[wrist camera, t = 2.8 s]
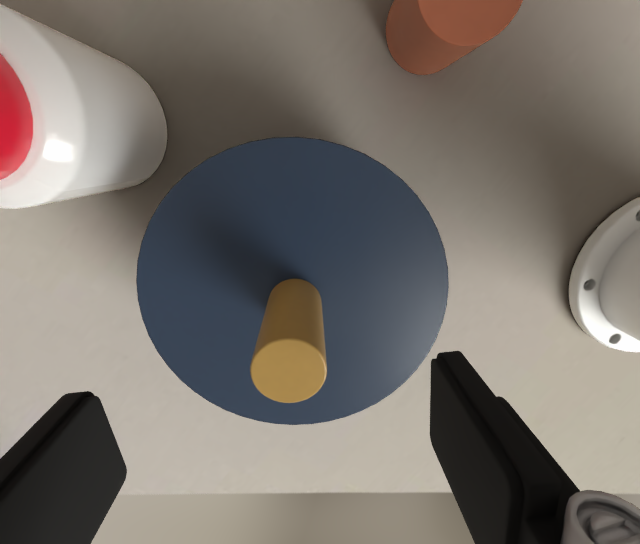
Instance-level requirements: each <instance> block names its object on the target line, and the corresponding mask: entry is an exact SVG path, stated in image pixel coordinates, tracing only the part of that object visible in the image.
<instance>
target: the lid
mask: <svg viewBox="0 0 640 544" xmlns="http://www.w3.org/2000/svg"><path fill="white" fill-rule="evenodd" d="M137 293H138V302H139V306H140V310H141V315H142V319H143V321H144V324H145V326H146V329H147V332H148V334H149V337H150V338H151V340H152V342H153V344H154V346H155V348H156V349H157V351H158V353H159V354H160V356H161V357H162V358H163V360H164V361H165V363H166V364H167V365H168V367H169V368H170V369H171V370H172V371H173V372H174V373H175V374H176V375H177V376H178V378H179V379H180V380H181V381H183V382H184V383H185V384H186V385H187V386H188V387H190V388H191V389H192V390H193V391H194V392H196V393H197V394H199V395H200V396H202V397H203V398H205V399H206V400H208V401H209V402H211V403H213V404H215V405H217V406H219V407H221V408H223V409H225V410H227V411H229V412H232V413H235V414H237V415H240V416H242V417H246V418H250V419H254V420H257V421H262V422H268V423H275V424H289V425H299V424H314V423H321V422H327V421H332V420H335V419H339V418H343V417H346V416H349V415H352V414H354V413H357V412H359V411H362V410H364V409H366V408H368V407H370V406H372V405H374V404H376V403H378V402H379V401H381V400H382V399H384V398H385V397H387V396H388V395H390V394H391V393H392V392H394V391H395V390H396V389H397V388H398V387H400V386H401V385H402V384H403V383H404V382H405V381H406V380H407V379H408V378H409V377H410V376H411V375H412V374H413V373H414V372H415V371H416V370H417V368H418V367H419V366H420V364H421V363H422V362H423V360H424V359H425V357H426V356H427V355H428V353H429V351H430V349H431V347H432V346H433V344H434V342H435V340H436V338H437V335H438V333H439V330H440V328H441V325H442V322H443V318H444V314H445V310H446V306H447V297H448V267H447V261H446V256H445V250H444V247H443V244H442V241H441V238H440V235H439V232H438V229H437V227H436V225H435V223H434V221H433V219H432V218H431V216H430V214H429V212H428V210H427V209H426V207H425V206H424V205H423V203H422V202H421V200H420V199H419V198H418V196H417V195H416V194H415V193H414V192H413V191H412V189H411V188H410V187H409V186H408V185H407V184H406V183H405V182H404V181H403V180H402V179H401V178H400V177H398V176H397V175H396V174H395V173H393V172H392V171H391V170H390V169H388V168H387V167H386V166H384V165H383V164H381V163H379V162H378V161H376V160H374V159H372V158H371V157H369V156H367V155H366V154H364V153H361V152H359V151H356V150H354V149H351V148H349V147H346V146H344V145H341V144H337V143H333V142H329V141H325V140H321V139H312V138H303V137H278V138H268V139H263V140H257V141H251V142H248V143H244V144H241V145H238V146H235V147H232V148H229V149H227V150H225V151H223V152H221V153H219V154H217V155H215V156H213V157H211V158H209V159H207V160H205V161H204V162H202V163H201V164H200V165H198V166H197V167H195V168H194V169H192V170H191V171H189V172H188V173H187V174H186V175H185V176H184V177H183V178H182V179H181V180H180V181H179V182H178V183H177V184H175V185H174V186H173V187H172V189H171V190H170V191H169V192H168V194H167V195H166V196H165V198H164V199H163V200H162V201H161V203H160V204H159V206H158V207H157V209H156V211H155V213H154V214H153V216H152V218H151V220H150V222H149V224H148V227H147V229H146V232H145V234H144V237H143V240H142V243H141V248H140V253H139V257H138V264H137Z"/></svg>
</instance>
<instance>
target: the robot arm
mask: <svg viewBox="0 0 640 544" xmlns="http://www.w3.org/2000/svg"><path fill="white" fill-rule="evenodd" d="M569 303H570V307H571V311H572V314H573V316H574V318H575V320H576V322H577V324H578V325H579V326H580V327H581V328H582V329H583V330H584V332H585V333H587V334H588V335H590V336H591V337H592V338H594V339H595V340H597V341H598V342H600V343H602V344H603V345H605V346H607V347H609V348H613V349H617V350H620V351H627V352H640V197H638V198H636V199H634V200H632V201H630V202H629V203H627V204H626V205H624V206H623V207H621V208H619V209H618V210H616V211H615V212H614V213H613V214H611V215H610V216H609V217H608V218H607V219H606V220H605V221H604V222H602V223H601V224H600V225H599V226H598V228H597V229H596V230H595V231H594V232H593V234H592V235H591V236H590V237H589V238H588V240H587V241H586V243H585V245H584V246H583V248H582V249H581V251H580V253H579V254H578V257H577V259H576V262H575V264H574V267H573V269H572V273H571V277H570V282H569ZM430 438H431V442H432V446H433V448H434V451H435V453H436V455H437V458H438V460H439V462H440V464H441V467H442V469H443V471H444V474H445V476H446V478H447V480H448V483H449V485H450V487H451V490H452V492H453V494H454V496H455V499H456V501H457V503H458V506H459V508H460V510H461V512H462V514H463V517H464V519H465V522H466V524H467V526H468V528H469V531H470V533H471V535H472V538H473V540H474V542H475V544H640V509H639V508H637V507H636V506H635V505H633V504H631V503H629V502H627V501H625V500H623V499H621V498H619V497H617V496H615V495H612V494H608V493H605V492H602V491H593V490H585V491H581V492H580V490H579V489H578V488H577V487H576V485H575V484H574V483H573V482H572V481H571V479H570V478H569V477H568V476H567V474H566V473H565V472H564V471H563V469H562V468H561V467H560V466H559V465H558V463H557V462H556V461H555V460H554V458H553V457H552V456H551V455H550V453H549V452H548V451H547V450H546V449H545V447H544V446H543V445H542V444H541V442H540V441H539V440H538V439H537V437H536V436H535V435H534V434H533V433H532V431H531V430H530V429H529V428H528V426H527V425H526V424H525V423H524V422H523V420H522V419H521V418H520V417H519V415H518V414H517V413H516V412H515V410H514V409H513V408H512V407H511V406H510V404H509V403H508V402H507V401H506V400H505V399H504V398H502V397H496V396H495V395H494V394H493V392H492V391H491V390H490V389H489V387H488V386H487V385H486V383H485V382H484V381H483V380H482V378H481V377H480V376H479V375H478V373H477V372H476V371H475V369H474V368H473V367H472V366H471V364H470V363H469V362H468V360H467V359H466V358H465V357H464V355H463V354H462V353H461V352H460V351H453V352H444V353H439V354H438V355H437V359H432V361H431V398H430ZM126 473H127V469H126V465H125V463H124V460H123V457H122V455H121V452H120V450H119V447H118V445H117V442H116V439H115V437H114V434H113V432H112V429H111V427H110V424H109V421H108V419H107V416H106V414H105V411H104V409H103V406H102V403H101V401H100V399H99V398H98V397H97V396H94V394H93V393H91V392H88V391H87V392H77V393H68V394H65V395H64V396H62V397H61V398H60V399H59V400H58V401H57V402H56V403H55V404H54V405H53V406H52V407H51V408H50V409H49V410H48V411H47V412H46V413H45V414H44V415H43V416H42V417H41V418H40V419H39V420H38V421H37V422H36V423H35V424H34V425H33V426H32V427H31V428H30V429H29V430H28V431H27V432H26V434H25V435H24V436H23V437H22V438H21V439H20V440H19V441H18V442H17V443H16V444H15V445H14V446H13V447H12V448H11V449H10V450H9V451H8V452H7V453H6V454H5V455H4V456H3V457H2V458H1V459H0V544H91V542H92V540H93V538H94V536H95V535H96V533H97V531H98V529H99V527H100V525H101V524H102V522H103V520H104V518H105V516H106V514H107V513H108V511H109V509H110V507H111V505H112V503H113V502H114V500H115V498H116V496H117V494H118V492H119V491H120V489H121V487H122V485H123V483H124V481H125V478H126Z"/></svg>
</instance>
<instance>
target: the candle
mask: <svg viewBox="0 0 640 544" xmlns="http://www.w3.org/2000/svg"><path fill="white" fill-rule="evenodd" d="M522 2H523V0H394V2H393V4H392V6H391V8H390V11H389V13H388V17H387V22H386V40H387V45H388V48H389V51H390V53H391V55H392V57H393V58H394V60H395V61H396V62H397V63H398V65H400V66H401V67H402V68H403V69H405V70H406V71H408V72H410V73H413V74H418V75H428V74H433V73H436V72H438V71H440V70H442V69H444V68H445V67H447V66H448V65H450V64H452V63H453V62H455V61H456V60H458V59H460V58H461V57H463V56H464V55H466V54H468V53H469V52H471V51H472V50H474V49H476V48H477V47H479V46H481V45H482V44H484V43H485V42H487V41H489V40H490V39H492V38H493V37H495V36H496V35H498V34H499V33H500V32H501V31H502V30H503V29H504V28H505V27H506V26H507V25H508V24H509V23H510V22H511V20H512V19H513V18H514V16H515V15H516V13H517V11H518V10H519V8H520V6H521V4H522Z"/></svg>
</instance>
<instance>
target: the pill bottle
mask: <svg viewBox="0 0 640 544" xmlns="http://www.w3.org/2000/svg"><path fill="white" fill-rule="evenodd" d="M166 145H167V125H166V120H165V116H164V112H163V109H162V107H161V104H160V102H159V100H158V98H157V96H156V94H155V93H154V92H153V90H152V89H151V87H150V86H149V84H148V83H147V82H146V81H145V80H144V79H143V78H142V77H141V76H140V75H139V74H138V73H137V72H136V71H135V70H133V69H132V68H131V67H129V66H128V65H127V64H125V63H123V62H121V61H119V60H117V59H115V58H113V57H111V56H109V55H107V54H105V53H103V52H101V51H98V50H96V49H94V48H92V47H90V46H88V45H86V44H84V43H82V42H80V41H78V40H76V39H73V38H71V37H69V36H67V35H65V34H63V33H61V32H59V31H57V30H55V29H53V28H51V27H48V26H46V25H44V24H42V23H40V22H38V21H36V20H34V19H32V18H30V17H28V16H25V15H23V14H21V13H19V12H17V11H15V10H13V9H11V8H9V7H7V6H5V5H3V4H0V208H8V209H20V208H27V207H34V206H40V205H45V204H50V203H55V202H60V201H65V200H70V199H75V198H80V197H85V196H90V195H95V194H100V193H105V192H111V191H116V190H121V189H126V188H130V187H133V186H135V185H138V184H140V183H142V182H143V181H145V180H146V179H148V178H149V177H150V176H151V175H152V174H153V173H154V172H155V171H156V170H157V168H158V167H159V165H160V163H161V161H162V160H163V157H164V153H165V150H166Z"/></svg>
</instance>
